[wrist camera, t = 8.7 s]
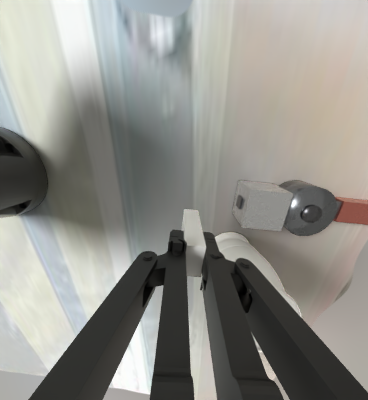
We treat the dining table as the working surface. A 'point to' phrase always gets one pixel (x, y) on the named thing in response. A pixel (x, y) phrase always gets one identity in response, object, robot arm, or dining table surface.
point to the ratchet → (319, 209)
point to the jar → (240, 248)
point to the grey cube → (261, 205)
